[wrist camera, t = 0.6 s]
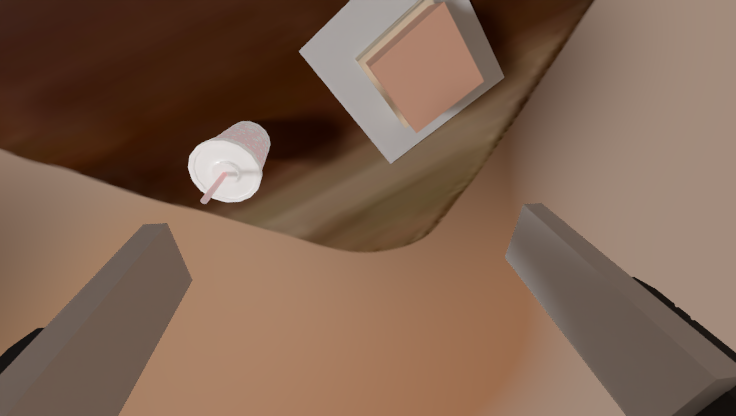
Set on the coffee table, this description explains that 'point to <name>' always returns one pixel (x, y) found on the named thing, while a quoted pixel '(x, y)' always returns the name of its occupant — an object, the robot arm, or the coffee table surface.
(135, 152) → the coffee table surface
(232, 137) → the beverage cup
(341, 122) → the coffee table surface
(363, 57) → the tower base block
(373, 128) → the tower mat
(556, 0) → the coffee table surface
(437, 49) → the tower top block
